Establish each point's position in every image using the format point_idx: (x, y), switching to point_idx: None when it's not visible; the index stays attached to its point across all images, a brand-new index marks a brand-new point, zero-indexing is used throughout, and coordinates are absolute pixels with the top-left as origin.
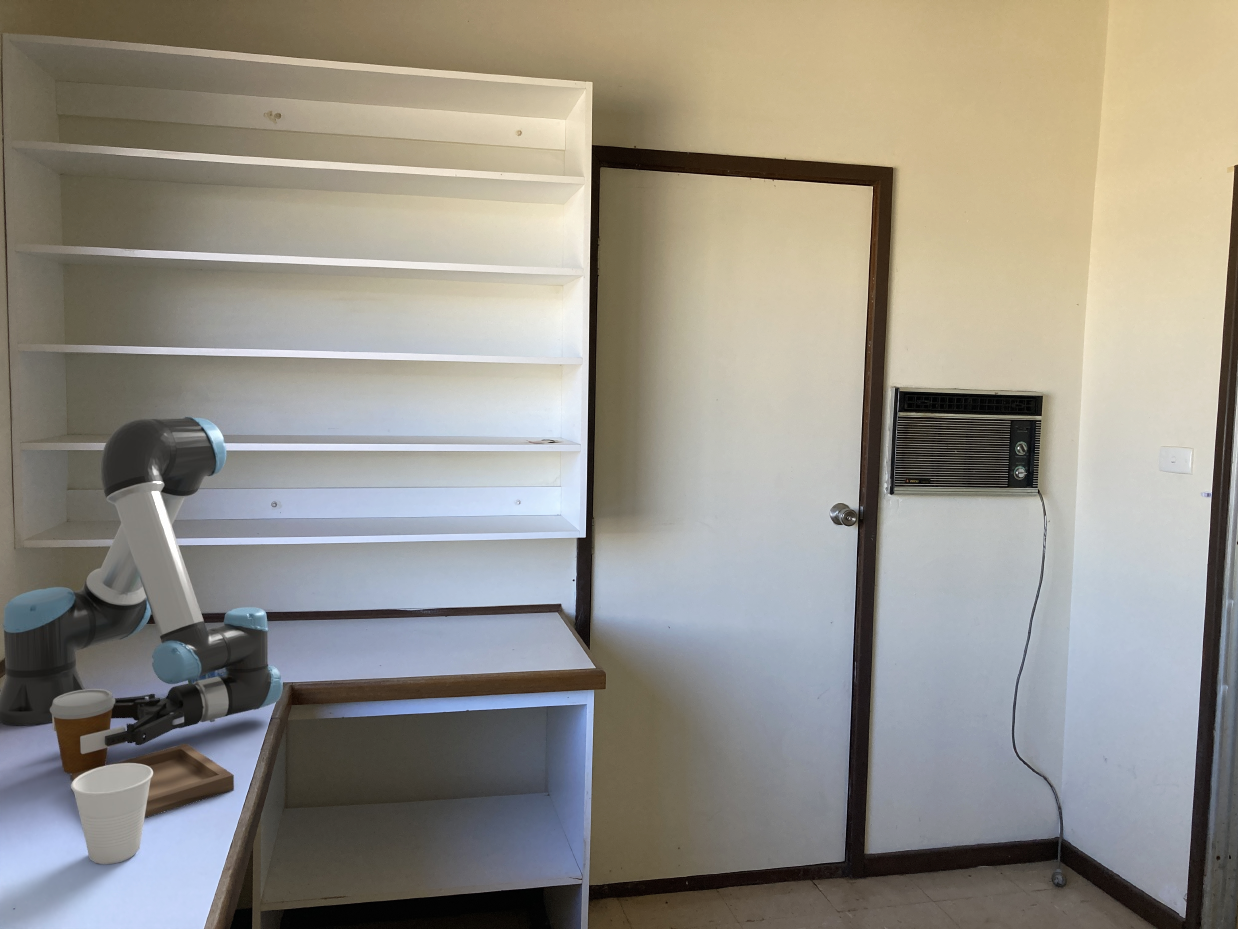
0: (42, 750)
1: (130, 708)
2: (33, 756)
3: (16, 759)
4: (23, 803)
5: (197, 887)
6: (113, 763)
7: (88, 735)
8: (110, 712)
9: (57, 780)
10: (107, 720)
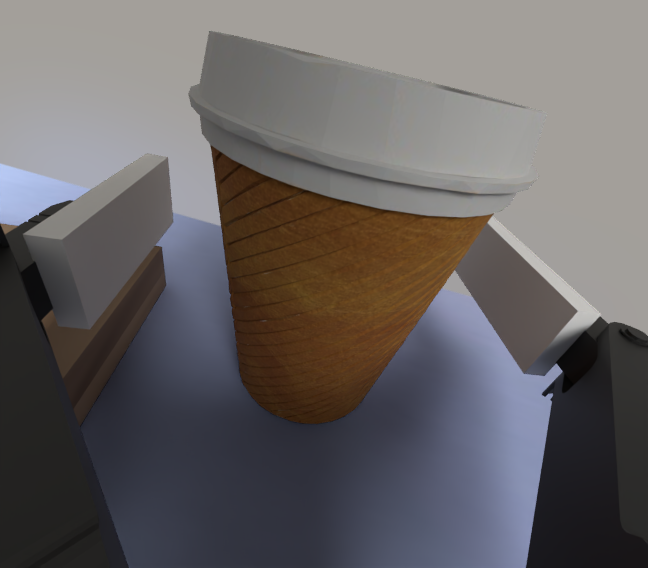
0: None
1: (587, 524)
2: (468, 322)
3: (462, 300)
4: (198, 231)
5: None
6: (90, 332)
7: (142, 162)
8: (259, 199)
9: None
10: (236, 224)
